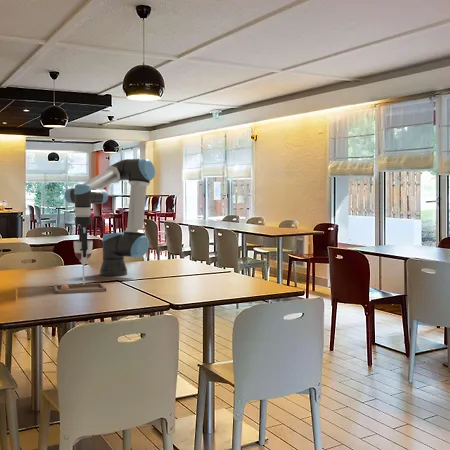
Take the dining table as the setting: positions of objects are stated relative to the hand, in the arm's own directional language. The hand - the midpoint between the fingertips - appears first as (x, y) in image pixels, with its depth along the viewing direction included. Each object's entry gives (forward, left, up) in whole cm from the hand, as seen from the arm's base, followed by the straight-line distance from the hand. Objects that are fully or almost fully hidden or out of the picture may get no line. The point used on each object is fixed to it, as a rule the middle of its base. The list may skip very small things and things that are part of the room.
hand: (83, 262), depth 279 cm
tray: (+3, +14, -12) cm, 18 cm away
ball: (+10, +18, -11) cm, 23 cm away
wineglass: (0, 0, -12) cm, 12 cm away
